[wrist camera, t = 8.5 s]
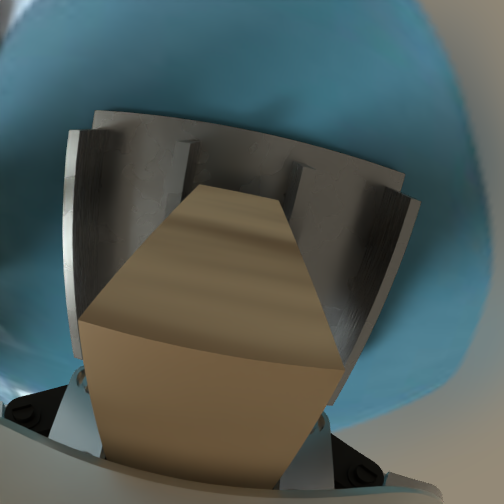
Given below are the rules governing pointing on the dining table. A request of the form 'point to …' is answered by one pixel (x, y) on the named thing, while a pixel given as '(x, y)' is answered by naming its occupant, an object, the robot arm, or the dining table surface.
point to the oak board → (210, 346)
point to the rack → (241, 180)
